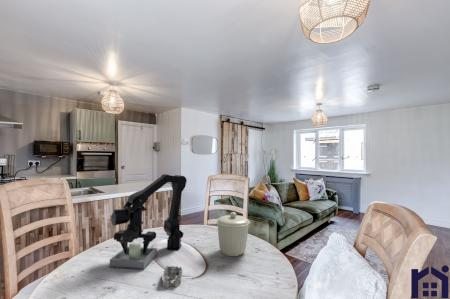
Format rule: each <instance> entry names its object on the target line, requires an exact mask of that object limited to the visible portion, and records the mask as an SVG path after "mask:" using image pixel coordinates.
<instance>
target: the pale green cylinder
mask: <svg viewBox="0 0 450 299" xmlns="http://www.w3.org/2000/svg"><path fill="white" fill-rule="evenodd" d="M128 245H129V246H128V247H129V260H140V247H141V243H140V242H131V243H130V244H128Z"/></svg>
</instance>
